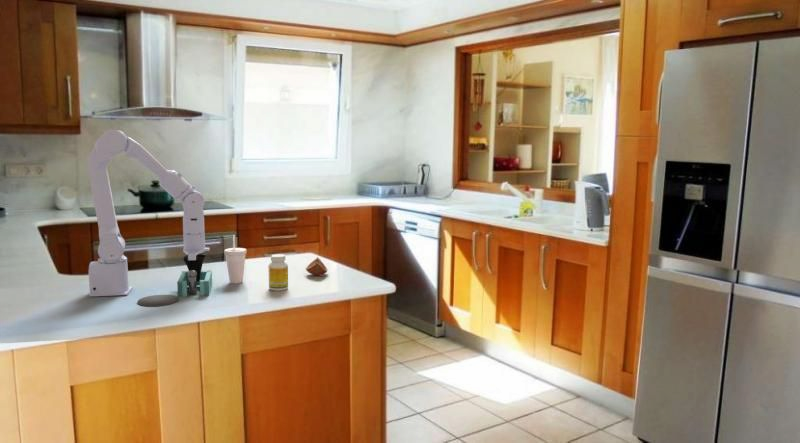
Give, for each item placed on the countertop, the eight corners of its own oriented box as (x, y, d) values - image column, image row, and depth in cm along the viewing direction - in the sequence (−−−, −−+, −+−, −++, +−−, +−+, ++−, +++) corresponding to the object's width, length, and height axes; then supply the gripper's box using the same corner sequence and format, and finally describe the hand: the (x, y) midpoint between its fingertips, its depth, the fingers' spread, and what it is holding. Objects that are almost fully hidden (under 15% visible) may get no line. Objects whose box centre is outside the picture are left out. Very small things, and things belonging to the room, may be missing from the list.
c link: (177, 296, 169) (177, 282, 168) (182, 285, 180) (182, 271, 179) (208, 295, 171) (208, 281, 170) (212, 283, 181) (211, 270, 181)
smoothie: (238, 278, 191) (237, 232, 189) (251, 281, 187) (250, 235, 185) (220, 282, 186) (219, 235, 184) (233, 285, 182) (232, 237, 180)
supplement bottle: (266, 287, 180) (265, 254, 179) (284, 285, 183) (284, 252, 181) (272, 291, 175) (271, 258, 174) (290, 289, 178) (290, 256, 177)
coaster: (134, 307, 159) (134, 305, 159) (141, 297, 168) (141, 295, 168) (176, 305, 161) (176, 303, 161) (180, 295, 171) (180, 293, 171)
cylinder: (187, 295, 171) (186, 271, 170) (188, 293, 173) (187, 269, 172) (197, 294, 171) (196, 270, 170) (197, 292, 174) (197, 268, 173)
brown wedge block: (327, 278, 192) (327, 262, 191) (305, 278, 192) (304, 262, 191) (327, 272, 200) (327, 256, 200) (306, 272, 200) (306, 257, 199)
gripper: (206, 237, 172) (208, 285, 173) (210, 228, 186) (212, 274, 188) (179, 237, 170) (181, 286, 172) (185, 229, 184) (187, 274, 186)
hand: (195, 280), depth 180 cm, fingers closed on c link
